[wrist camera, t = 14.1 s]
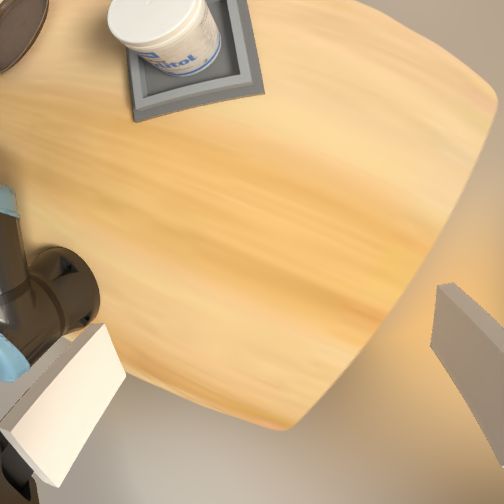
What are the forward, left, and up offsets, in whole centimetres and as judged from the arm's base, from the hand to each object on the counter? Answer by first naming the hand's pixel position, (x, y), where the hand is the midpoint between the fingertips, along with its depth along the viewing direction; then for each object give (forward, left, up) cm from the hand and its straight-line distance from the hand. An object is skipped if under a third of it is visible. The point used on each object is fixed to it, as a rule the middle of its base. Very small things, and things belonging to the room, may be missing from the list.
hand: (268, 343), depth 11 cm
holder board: (-8, +24, -32) cm, 41 cm away
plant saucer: (-42, +45, -32) cm, 69 cm away
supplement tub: (-8, +24, -31) cm, 40 cm away
